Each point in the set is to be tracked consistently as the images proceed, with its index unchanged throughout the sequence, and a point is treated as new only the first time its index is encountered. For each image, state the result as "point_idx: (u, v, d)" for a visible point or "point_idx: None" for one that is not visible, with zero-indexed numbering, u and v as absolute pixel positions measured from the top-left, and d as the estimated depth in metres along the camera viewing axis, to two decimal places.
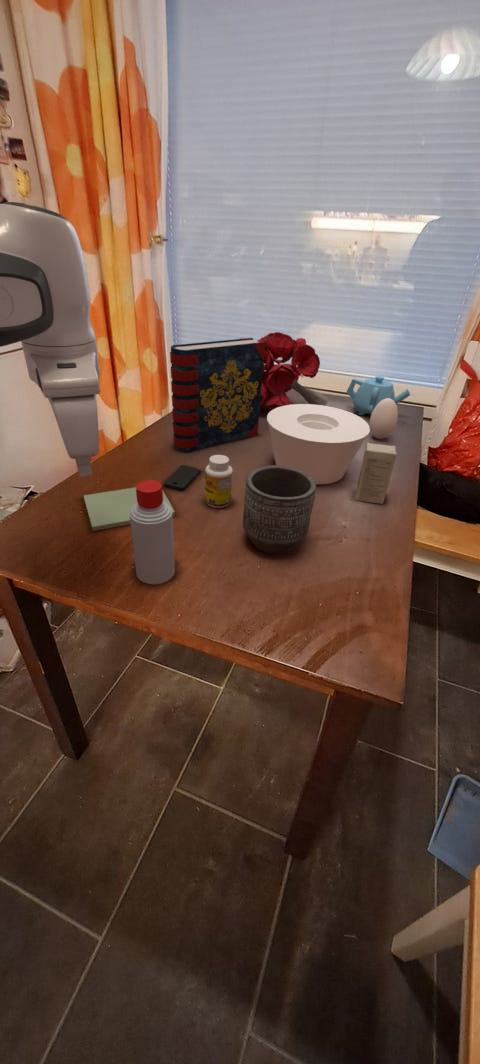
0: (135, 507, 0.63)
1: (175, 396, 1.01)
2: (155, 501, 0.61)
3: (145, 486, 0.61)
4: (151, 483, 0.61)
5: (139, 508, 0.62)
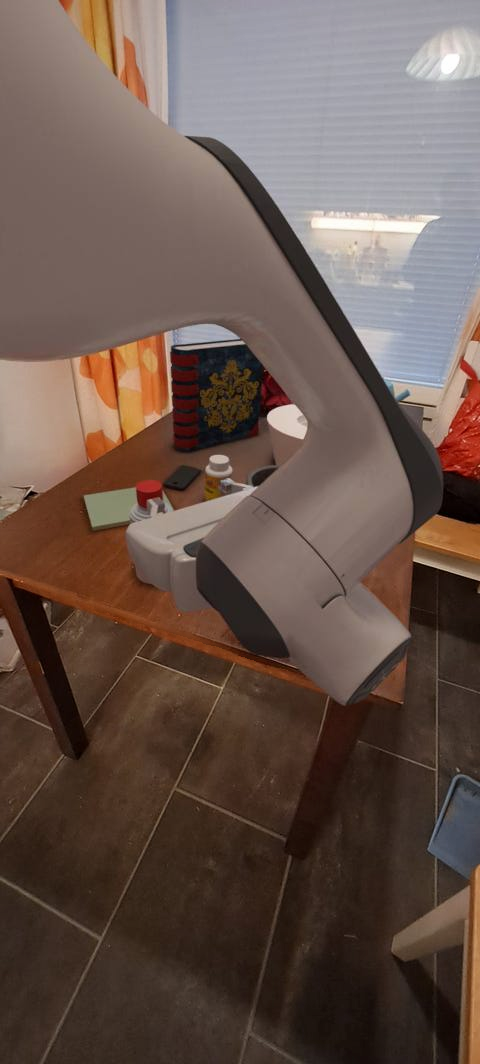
0: (135, 507, 0.63)
1: (175, 396, 1.01)
2: None
3: (145, 486, 0.61)
4: (151, 483, 0.61)
5: (139, 508, 0.62)
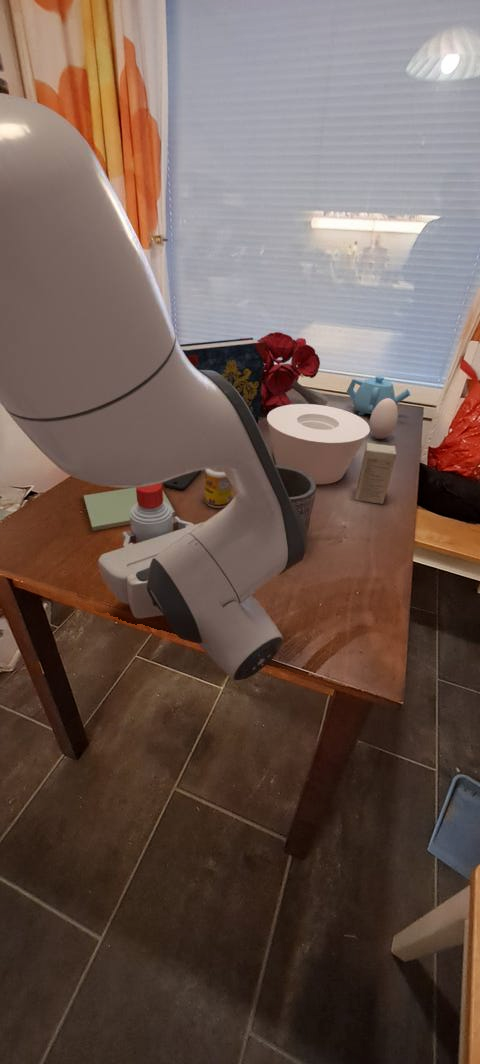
0: (135, 507, 0.63)
1: None
2: (155, 501, 0.61)
3: (145, 486, 0.61)
4: None
5: (139, 508, 0.62)
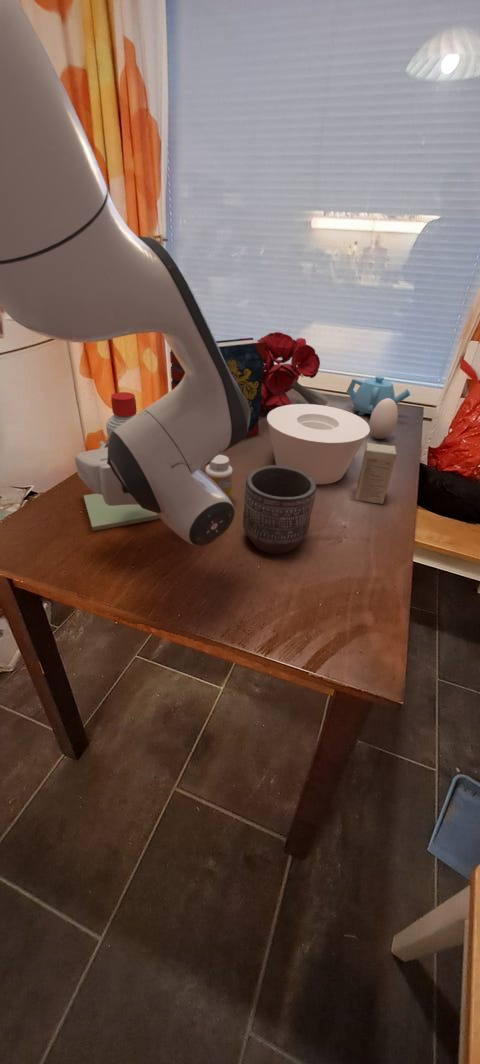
0: (111, 418, 0.69)
1: None
2: (128, 409, 0.67)
3: (119, 396, 0.67)
4: (125, 394, 0.68)
5: (114, 417, 0.68)
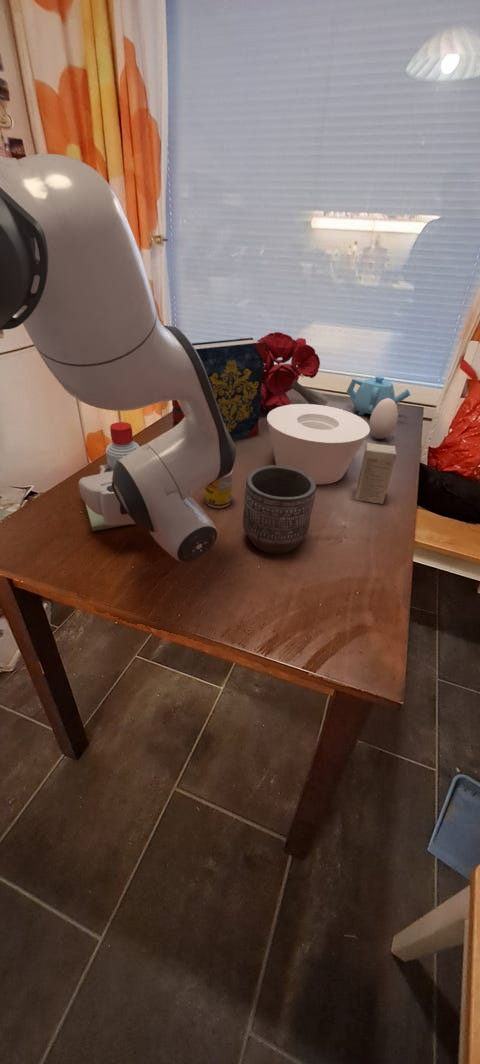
0: (110, 445, 0.78)
1: None
2: (125, 438, 0.75)
3: (117, 426, 0.75)
4: (122, 424, 0.76)
5: (113, 445, 0.77)
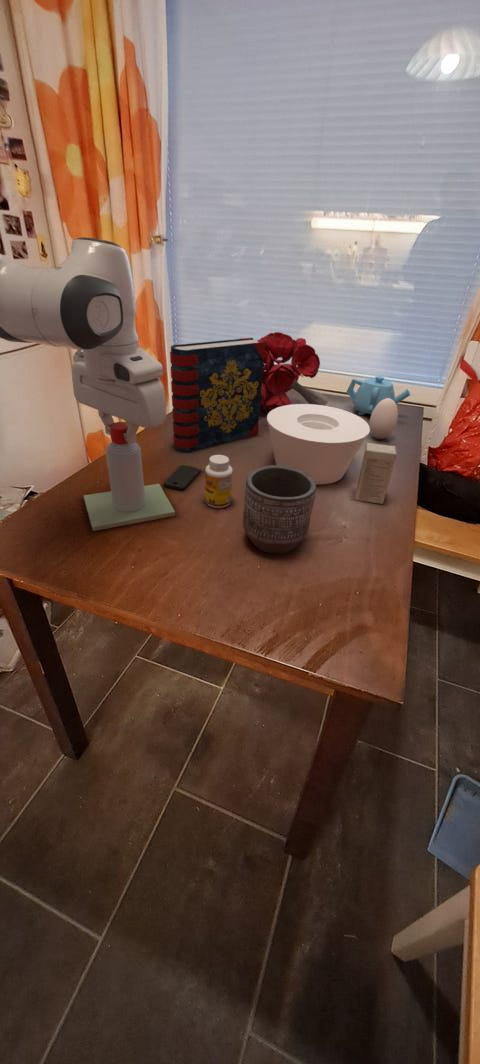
0: (110, 444, 0.78)
1: (175, 396, 1.01)
2: None
3: (117, 425, 0.75)
4: (122, 424, 0.76)
5: (113, 444, 0.77)
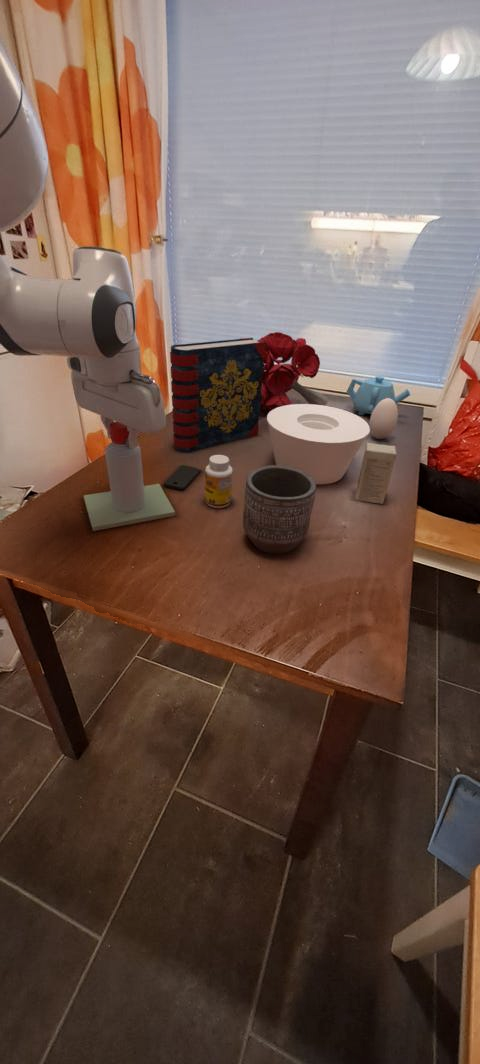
0: (109, 445, 0.77)
1: (175, 396, 1.01)
2: None
3: (122, 424, 0.76)
4: (117, 426, 0.75)
5: (112, 445, 0.77)
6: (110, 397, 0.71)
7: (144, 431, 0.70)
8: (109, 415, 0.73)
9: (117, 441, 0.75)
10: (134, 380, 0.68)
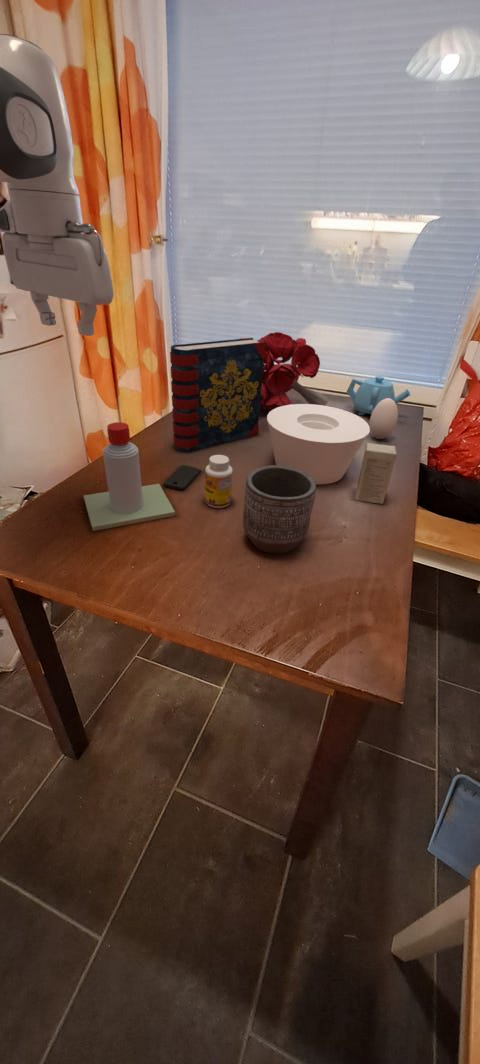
0: (107, 446, 0.77)
1: (175, 396, 1.01)
2: None
3: (120, 425, 0.75)
4: (115, 427, 0.74)
5: (110, 446, 0.76)
6: (47, 263, 0.59)
7: (86, 300, 0.58)
8: (47, 289, 0.61)
9: (115, 442, 0.75)
10: (72, 234, 0.56)
